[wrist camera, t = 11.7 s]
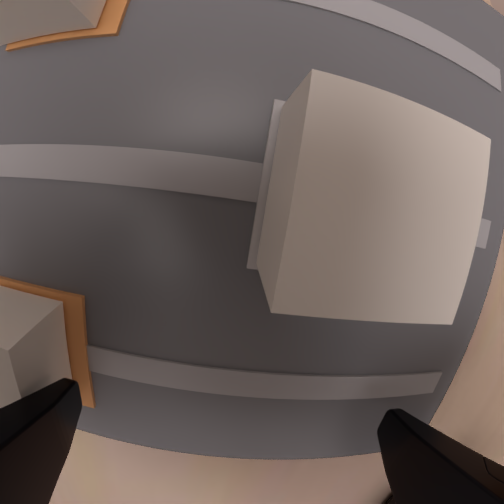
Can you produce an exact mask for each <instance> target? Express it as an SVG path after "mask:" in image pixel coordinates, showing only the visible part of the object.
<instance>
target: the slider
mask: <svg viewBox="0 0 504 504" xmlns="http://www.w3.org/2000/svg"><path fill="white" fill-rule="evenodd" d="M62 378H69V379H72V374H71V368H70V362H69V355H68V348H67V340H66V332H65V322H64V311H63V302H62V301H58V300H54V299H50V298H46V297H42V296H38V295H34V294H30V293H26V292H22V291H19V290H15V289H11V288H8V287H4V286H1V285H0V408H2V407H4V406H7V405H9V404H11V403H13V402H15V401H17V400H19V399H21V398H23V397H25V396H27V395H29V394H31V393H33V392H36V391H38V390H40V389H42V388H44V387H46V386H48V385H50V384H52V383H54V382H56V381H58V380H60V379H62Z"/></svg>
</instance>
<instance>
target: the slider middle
mask: <svg viewBox="0 0 504 504" xmlns="http://www.w3.org/2000/svg"><path fill="white" fill-rule="evenodd" d="M490 148H491V139H490V138H488V137H486V136H485V135H483V134H481V133H479V132H477V131H475V130H473V129H472V128H470V127H468V126H466V125H464V124H462V123H460V122H458V121H456V120H454V119H452V118H450V117H448V116H445V115H443V114H441V113H439V112H437V111H435V110H432V109H430V108H428V107H425V106H423V105H421V104H418V103H416V102H414V101H411V100H409V99H406V98H403V97H401V96H398V95H396V94H393V93H390V92H388V91H385V90H382V89H379V88H376V87H373V86H370V85H367V84H364V83H361V82H358V81H355V80H352V79H348V78H345V77H341V76H338V75H334V74H331V73H327V72H323V71H319V70H315V69H312V70H311V71H310V72H309V73H308V75H307V76H306V77H305V78H304V80H303V81H302V82H301V83H300V85H299V86H298V87H297V88H296V90H295V91H294V92H293V93H292V95H291V96H290V97H289V98H288V100H287V101H286V102H285V104H284V105H283V106H282V109H281V116H280V122H279V128H278V134H277V140H276V147H275V153H274V159H273V165H272V171H271V177H270V183H269V189H268V195H267V201H266V207H265V213H264V219H263V225H262V231H261V237H260V243H259V249H258V255H257V261H256V264H257V267H258V271H259V274H260V278H261V281H262V284H263V288H264V291H265V294H266V298H267V301H268V305H269V308H270V311H271V313H278V314H288V315H298V316H309V317H320V318H332V319H345V320H359V321H375V322H393V323H415V324H447V325H452V323H453V320H454V318H455V315H456V312H457V309H458V306H459V303H460V300H461V297H462V294H463V290H464V287H465V284H466V280H467V277H468V273H469V270H470V266H471V262H472V258H473V254H474V250H475V246H476V242H477V237H478V232H479V228H480V223H481V217H482V212H483V206H484V200H485V193H486V186H487V179H488V170H489V160H490Z"/></svg>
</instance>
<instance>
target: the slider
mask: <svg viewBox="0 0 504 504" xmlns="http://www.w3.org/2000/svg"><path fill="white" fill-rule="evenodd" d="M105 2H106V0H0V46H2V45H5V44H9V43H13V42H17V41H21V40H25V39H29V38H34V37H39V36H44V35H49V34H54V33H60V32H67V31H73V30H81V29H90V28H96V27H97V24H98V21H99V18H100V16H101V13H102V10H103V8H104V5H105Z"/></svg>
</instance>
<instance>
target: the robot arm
mask: <svg viewBox="0 0 504 504" xmlns="http://www.w3.org/2000/svg"><path fill="white" fill-rule="evenodd" d="M81 410H82V399H81V394H80V389H79V384H78V382H77V381H75V380H72V379H69V378H62V379H60V380H58V381H56V382H54V383H52V384H50V385H48V386H46V387H44V388H42V389H40V390H38V391H36V392H33V393H31V394H29V395H27V396H25V397H23V398H21V399H19V400H17V401H15V402H13V403H11V404H9V405H7V406H4V407H2V408H0V504H49V501H50V499H51V496H52V493H53V491H54V488H55V486H56V483H57V480H58V478H59V475H60V473H61V470H62V468H63V466H64V463H65V461H66V458H67V456H68V453H69V450H70V447H71V444H72V440H73V437H74V433H75V430H76V427H77V423H78V420H79V417H80V414H81ZM377 437H378V441H379V445H380V450H381V454H382V459H383V464H384V468H385V472H386V476H387V479H388V482H389V485H390V488H391V491H392V494H393V496H392V497H391V498H390V499H389V501H388V502H387V503H386V504H504V466H502V465H500V464H498V463H496V462H494V461H492V460H490V459H488V458H486V457H483V456H482V455H481V454H479V453H477V452H475V451H473V450H471V449H470V448H468V447H466V446H464V445H462V444H461V443H459V442H457V441H455V440H454V439H452V438H450V437H448V436H446V435H445V434H443V433H441V432H440V431H438V430H436V429H434V428H433V427H431V426H429V425H428V424H426V423H424V422H422V421H421V420H419V419H417V418H416V417H414V416H412V415H411V414H409V413H407V412H406V411H404V410H403V409H401V408H394V409H389V410H387V411H386V413H385V415H384V417H383V419H382V421H381V422H380V424H379V426H378V429H377Z"/></svg>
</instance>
